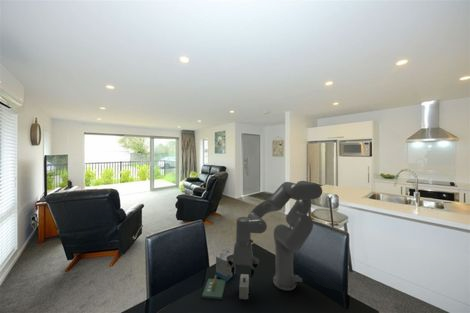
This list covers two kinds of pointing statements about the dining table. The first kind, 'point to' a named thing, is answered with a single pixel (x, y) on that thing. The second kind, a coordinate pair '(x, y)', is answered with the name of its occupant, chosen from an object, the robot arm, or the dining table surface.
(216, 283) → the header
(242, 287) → the white switch box
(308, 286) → the dining table surface
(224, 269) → the ink box
